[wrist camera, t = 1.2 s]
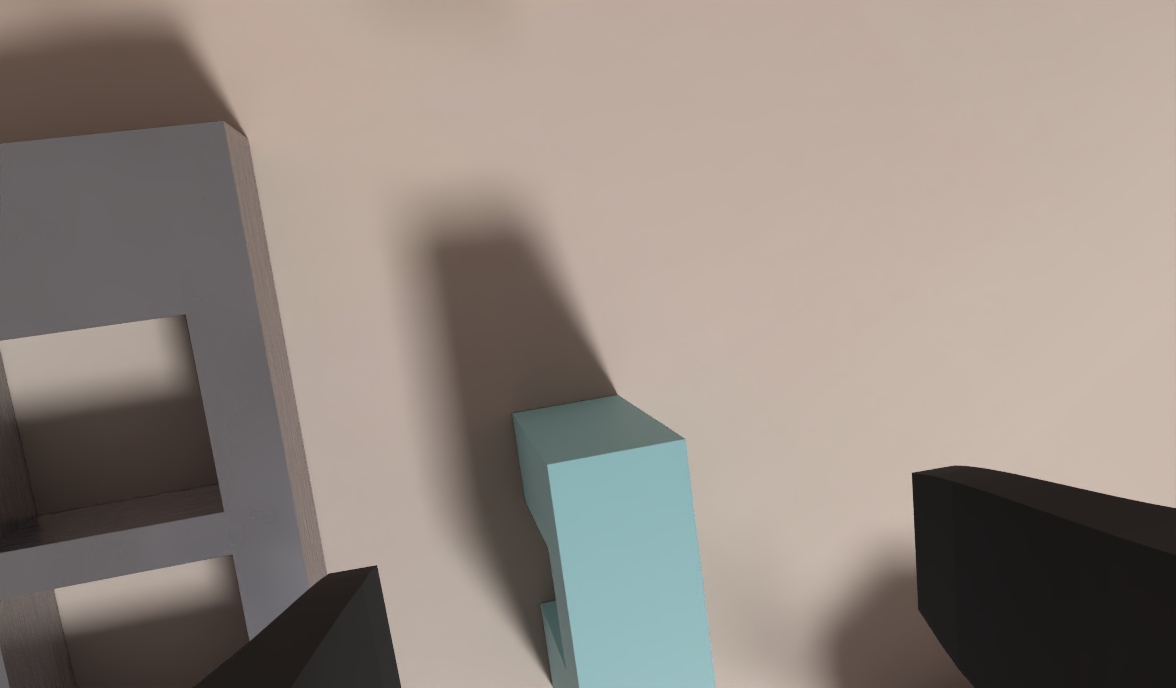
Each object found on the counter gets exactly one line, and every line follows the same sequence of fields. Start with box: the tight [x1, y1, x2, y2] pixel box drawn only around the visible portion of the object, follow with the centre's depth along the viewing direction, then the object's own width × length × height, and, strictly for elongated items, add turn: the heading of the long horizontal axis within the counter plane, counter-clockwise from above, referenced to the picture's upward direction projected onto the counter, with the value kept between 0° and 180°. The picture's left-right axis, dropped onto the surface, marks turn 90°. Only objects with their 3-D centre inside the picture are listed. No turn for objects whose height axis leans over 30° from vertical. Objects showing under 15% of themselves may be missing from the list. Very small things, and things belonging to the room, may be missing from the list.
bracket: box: [512, 395, 716, 688], centre depth 22 cm, size 8×3×6 cm, turn 8°
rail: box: [0, 121, 327, 688], centre depth 21 cm, size 18×8×3 cm, turn 8°
